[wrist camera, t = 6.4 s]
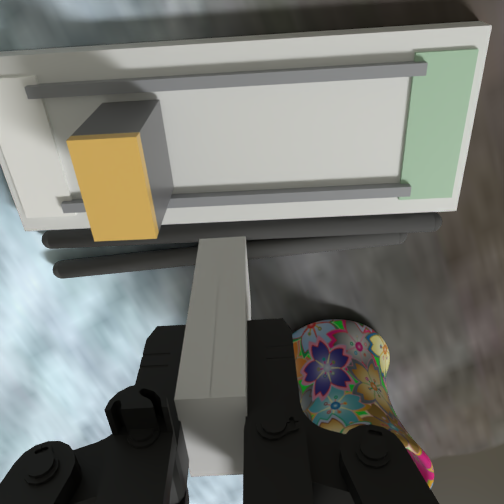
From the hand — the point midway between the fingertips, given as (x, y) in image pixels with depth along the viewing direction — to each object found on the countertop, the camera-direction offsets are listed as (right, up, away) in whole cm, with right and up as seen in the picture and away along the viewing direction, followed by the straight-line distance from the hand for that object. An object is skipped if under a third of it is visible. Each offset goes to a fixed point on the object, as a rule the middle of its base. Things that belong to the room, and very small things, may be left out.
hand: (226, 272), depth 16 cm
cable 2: (-1, +1, +16) cm, 16 cm away
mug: (+8, -8, +22) cm, 24 cm away
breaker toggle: (-5, +6, +10) cm, 13 cm away
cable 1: (0, +2, +15) cm, 15 cm away
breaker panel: (0, +7, +11) cm, 14 cm away
